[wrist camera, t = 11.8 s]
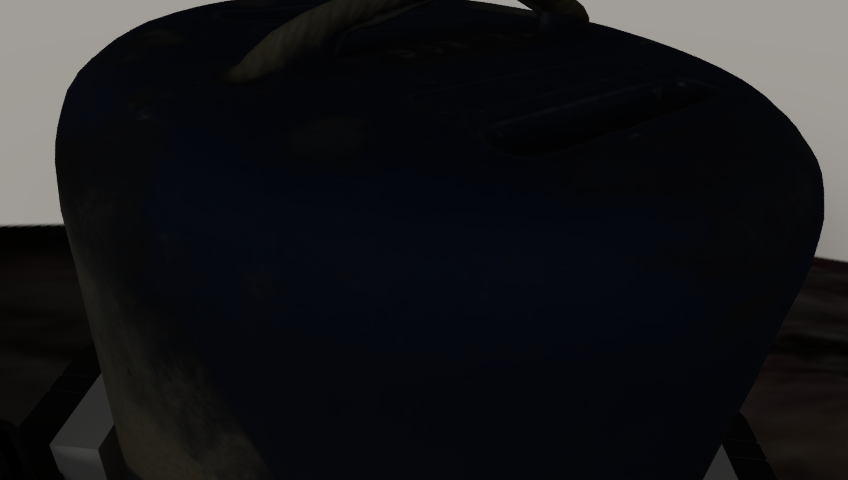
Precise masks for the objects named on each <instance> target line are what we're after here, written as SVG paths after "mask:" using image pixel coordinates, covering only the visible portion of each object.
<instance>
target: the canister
mask: <svg viewBox="0 0 848 480" xmlns="http://www.w3.org/2000/svg"><path fill="white" fill-rule="evenodd" d="M518 1H519V2H521V3H522V4H524V5H525V6H527V7H528V8H530V9H532V10H533V11H532V10H527V9H521V8H516V7H509V6H503V5H498V4H492V3H485V2H478V1H470V0H231V1H224V2H218V3H213V4H208V5H203V6H199V7H194V8H191V9H187V10H183V11H179V12H175V13H172V14H170V15H166V16H164V17H161V18H158V19H154V20H151V21H148V22H146V23H144V24H142V25H140V26H138V27H136V28H134V29H132V30H130V31H129V32H127V33H125V34H124V35H122V36H120V37H118V38H117V39H116V40H114V41H113V42H111V43H110V44H109V45H108V46H106V47H105V48H104V49H103V50H102V51H100V52H99V53H98V54H97V55H96V56H95V57H93V58H92V59H91V60H90V61H89V62H88V63H87V64H86V65H85V66H84V67H83V68H82V69H81V70H80V71H79V72H78V74H77V76H76V77H75V79H74V81H73V82H72V84H71V85H70V87H69V88H68V90H67V93H66V96H65V100H64V103H63V106H62V110H61V114H60V118H59V123H58V127H57V135H56V142H55V167H56V174H57V183H58V192H59V200H60V207H61V213H62V217H63V220H64V224H65V228H66V232H67V236H68V240H69V244H70V248H71V252H72V255H73V259H74V263H75V267H76V272H77V276H78V280H79V284H80V288H81V292H82V296H83V300H84V304H85V308H86V312H87V316H88V320H89V324H90V328H91V332H92V336H93V340H94V345H95V349H96V353H97V357H98V361H99V365H100V369H101V373H102V377H103V381H104V385H105V389H106V393H107V397H108V401H109V405H110V409H111V413H112V417H113V421H114V425H115V429H116V433H117V437H118V441H119V445H120V448H121V451H122V454H123V458H124V462H125V466H126V470H127V474H128V478H129V480H703V479H704V477H705V475H706V473H707V471H708V469H709V467H710V465H711V463H712V461H713V460H714V458H715V456H716V454H717V452H718V450H719V448H720V446H721V444H722V442H723V440H724V438H725V436H726V434H727V432H728V430H729V428H730V426H731V424H732V422H733V420H734V419H735V417H736V415H737V413H738V412H739V410H740V408H741V406H742V404H743V402H744V401H745V399H746V397H747V395H748V393H749V391H750V389H751V387H752V386H753V384H754V382H755V380H756V378H757V376H758V374H759V372H760V370H761V368H762V366H763V363H764V361H765V359H766V357H767V355H768V353H769V351H770V348H771V346H772V344H773V342H774V340H775V338H776V335H777V333H778V331H779V329H780V327H781V325H782V323H783V320H784V319H785V317H786V315H787V313H788V311H789V309H790V308H791V306H792V304H793V302H794V300H795V298H796V297H797V295H798V293H799V291H800V289H801V287H802V285H803V283H804V281H805V278H806V276H807V274H808V272H809V270H810V268H811V265H812V262H813V258H814V255H815V252H816V248H817V245H818V242H819V238H820V234H821V230H822V226H823V221H824V187H823V179H822V172H821V169H820V167H819V163H818V161H817V159H816V157H815V155H814V153H813V151H812V150H811V148H810V146H809V145H808V144H807V142H806V141H805V139H804V138H803V137H802V135H801V133H800V132H799V130H798V129H797V127H796V126H795V125H794V124H793V123H792V122H791V121H790V119H789V118H788V117H787V116H786V115H785V114H784V113H783V112H782V111H781V110H779V109H778V108H777V107H776V106H775V105H774V104H773V103H772V102H771V101H770V100H769V99H768V98H767V97H766V96H764V95H763V94H762V93H760V92H759V91H758V90H756V89H755V88H754V87H752V86H751V85H749V84H748V83H746V82H745V81H743V80H742V79H740V78H738V77H736V76H734V75H733V74H731V73H729V72H727V71H725V70H723V69H722V68H719V67H717V66H715V65H713V64H711V63H709V62H706V61H704V60H702V59H700V58H697V57H695V56H692V55H690V54H687V53H685V52H683V51H680V50H677V49H675V48H672V47H670V46H667V45H664V44H661V43H658V42H655V41H653V40H650V39H647V38H644V37H640V36H637V35H634V34H631V33H627V32H624V31H621V30H618V29H614V28H611V27H607V26H603V25H600V24H596V23H591V22H589V17H588V14H587V12H586V10H585V8H584V6H582V5H581V4H580V3H579V2H578V1H577V0H518Z"/></svg>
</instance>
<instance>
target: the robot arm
mask: <svg viewBox="0 0 848 480" xmlns="http://www.w3.org/2000/svg"><path fill="white" fill-rule="evenodd" d="M756 441H757V440H756V438H755V436H754V434H753V432H752V430H751V428H750V426H749V424H748V422H747V420H746V418H745V417H744V416H743V415H742V414H741V413H740V412H738V413H737V415H736V417H735V419H734V420H733V422H732V424H731V426H730V428H729V430H728V432H727V434H726V436H725V438H724V440H723V442H722V444H721V446H720V448H719V450H718V452H717V454H716V456H715V458H714V460H713V461H712V463H711V465H710V467H709V469H708V471H707V473H706V475H705V477H704V479H703V480H777V478H776V476H775V474H774V472H773V470H772V468H771V467H770V465H769V463H767V462H766V457H765V455H764V453H763V451H762V449H761V447H760V445H759V444H757V443H756ZM0 480H129V478H128V474H127V470H126V466H125V462H124V458H123V454H122V451H121V448H120V445H119V441H118V437H117V433H116V429H115V425H114V421H113V417H112V413H111V409H110V405H109V401H108V397H107V393H106V389H105V385H104V381H103V377H102V373H101V369H100V365H99V361H98V357H97V353H96V349H95V345H94V343H92V344H91V345H89V346H88V347H86V348H85V349H83V350H82V351H80V352H79V353H78V354H77V355H76V356H75V358H74V359H73V360H72V361H71V363H70V364H69V365H68V366H67V368H66V369H65V370H64V371H63V375H62V376H59V378H58V379H57V380H56V381H55V383H54V384H53V385H52V386H51V388H50V392H47V393H46V394H45V395H44V396H43V398H42V399H41V400H40V401H39V403H38V404H37V405H36V406H35V408H34V409H33V410H32V411H31V413H30V414H29V415H28V416H27V418H26V419H25V420H24V421H23V423H22V424H21V425H20V426H19V428H17V427H16V426H15V425H14V424H12V423H11V422H10V421H6V420H1V419H0Z"/></svg>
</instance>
